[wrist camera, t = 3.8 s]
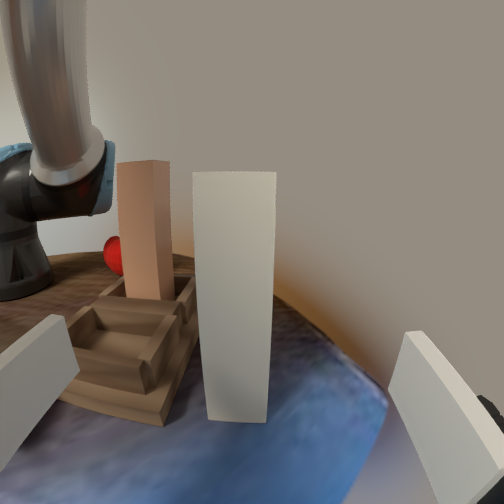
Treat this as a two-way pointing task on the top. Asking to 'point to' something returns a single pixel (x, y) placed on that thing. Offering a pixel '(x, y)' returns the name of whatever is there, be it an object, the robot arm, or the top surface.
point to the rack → (133, 351)
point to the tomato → (113, 255)
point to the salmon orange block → (145, 229)
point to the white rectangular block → (235, 289)
